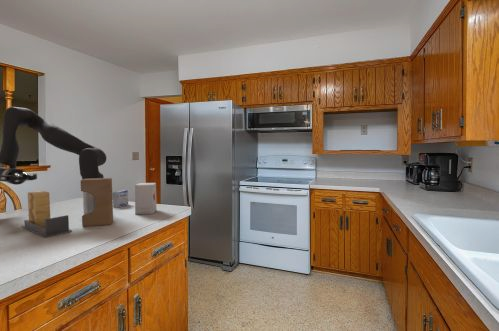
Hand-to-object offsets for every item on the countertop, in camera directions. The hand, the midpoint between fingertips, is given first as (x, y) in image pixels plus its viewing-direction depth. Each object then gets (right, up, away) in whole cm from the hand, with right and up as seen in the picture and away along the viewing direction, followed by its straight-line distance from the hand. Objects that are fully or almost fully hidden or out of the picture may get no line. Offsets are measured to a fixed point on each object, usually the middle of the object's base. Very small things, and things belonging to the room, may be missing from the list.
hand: (27, 178), depth 120 cm
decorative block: (+33, -20, -2) cm, 38 cm away
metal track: (+15, -21, -9) cm, 27 cm away
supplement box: (+45, -19, +21) cm, 53 cm away
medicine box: (+24, -18, +37) cm, 48 cm away
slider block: (+10, -20, -6) cm, 23 cm away
